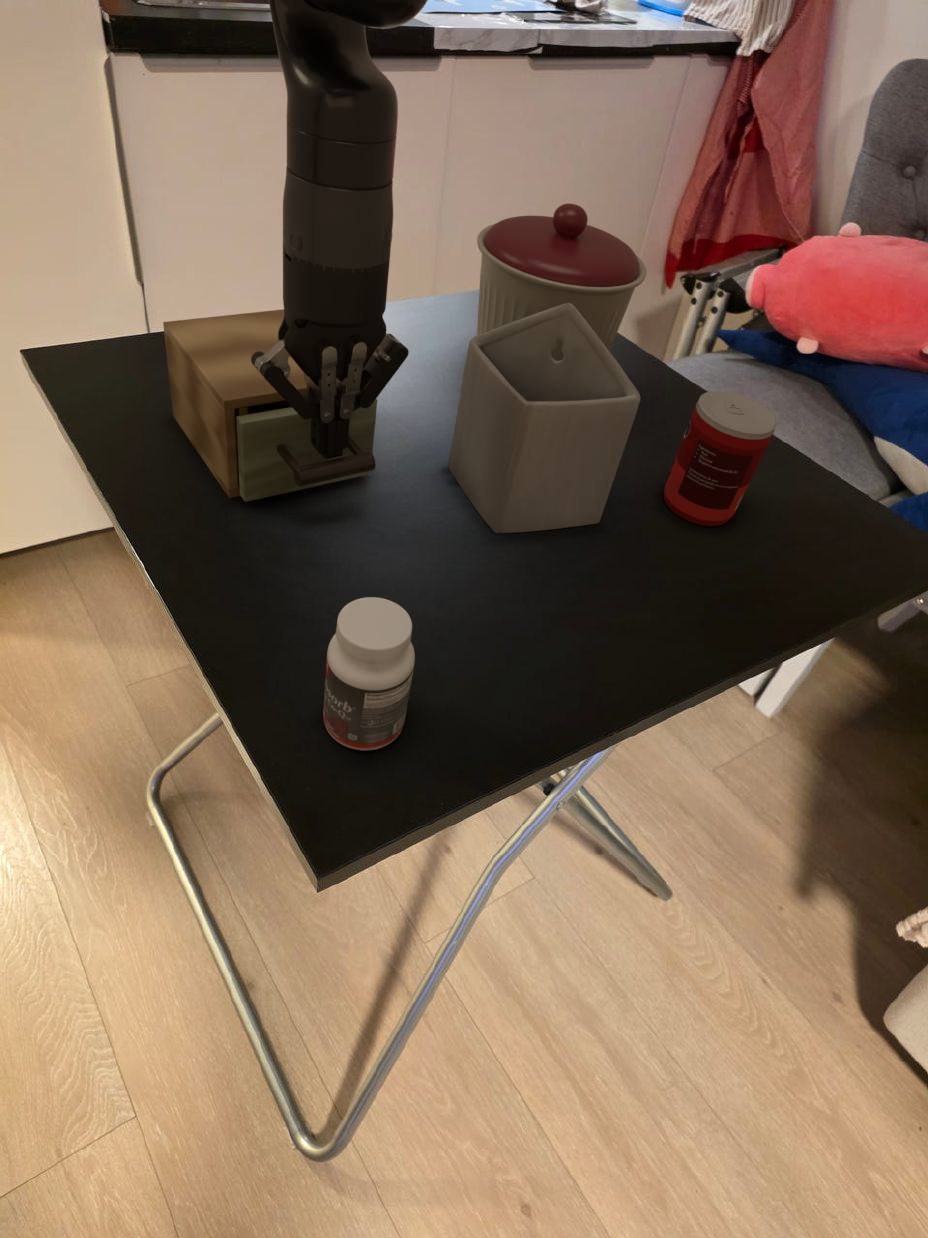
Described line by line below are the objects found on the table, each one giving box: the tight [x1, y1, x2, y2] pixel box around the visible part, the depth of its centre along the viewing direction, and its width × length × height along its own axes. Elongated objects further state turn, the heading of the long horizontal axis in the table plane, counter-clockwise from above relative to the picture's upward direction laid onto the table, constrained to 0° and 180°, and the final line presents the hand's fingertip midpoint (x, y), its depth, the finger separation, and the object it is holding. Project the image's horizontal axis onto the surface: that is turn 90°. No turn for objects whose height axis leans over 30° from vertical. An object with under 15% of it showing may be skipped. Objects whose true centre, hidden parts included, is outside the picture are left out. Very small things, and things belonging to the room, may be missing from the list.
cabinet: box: [162, 308, 372, 499], centre depth 76 cm, size 15×14×10 cm
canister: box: [476, 203, 648, 361], centre depth 88 cm, size 18×18×21 cm
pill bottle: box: [322, 596, 416, 751], centre depth 53 cm, size 6×6×10 cm
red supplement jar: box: [663, 390, 778, 527], centre depth 80 cm, size 8×8×11 cm
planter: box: [447, 303, 641, 534], centre depth 71 cm, size 16×8×19 cm, turn 67°
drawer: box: [235, 398, 378, 503], centre depth 73 cm, size 19×13×8 cm, turn 33°
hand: (328, 452), depth 68 cm, fingers closed
